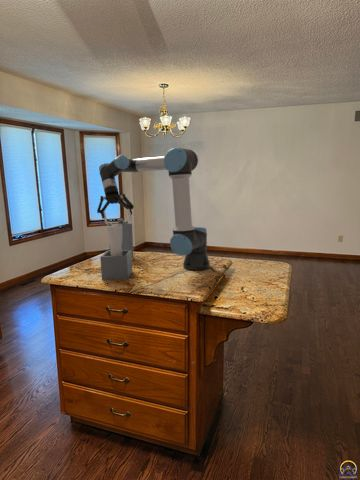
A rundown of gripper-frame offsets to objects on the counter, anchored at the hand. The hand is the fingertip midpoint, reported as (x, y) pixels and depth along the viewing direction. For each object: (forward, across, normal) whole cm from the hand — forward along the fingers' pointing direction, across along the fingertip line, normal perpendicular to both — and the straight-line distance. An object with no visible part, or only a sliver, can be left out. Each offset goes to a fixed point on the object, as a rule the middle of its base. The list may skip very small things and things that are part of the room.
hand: (118, 221), depth 175 cm
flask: (+6, -6, -40) cm, 41 cm away
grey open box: (+28, +6, -7) cm, 29 cm away
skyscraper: (+27, +6, -7) cm, 29 cm away
